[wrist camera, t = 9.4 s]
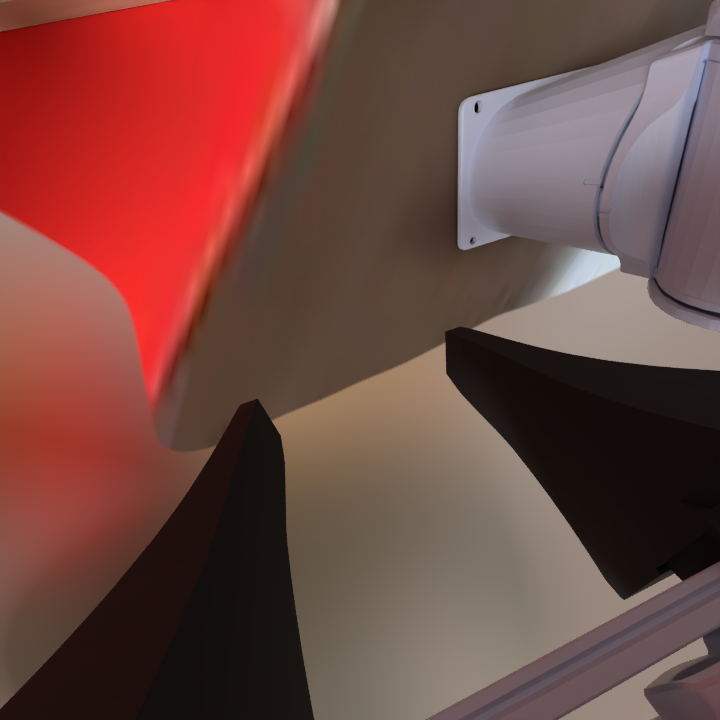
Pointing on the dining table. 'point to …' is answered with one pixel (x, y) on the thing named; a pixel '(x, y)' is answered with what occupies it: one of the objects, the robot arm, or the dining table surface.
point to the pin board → (57, 10)
